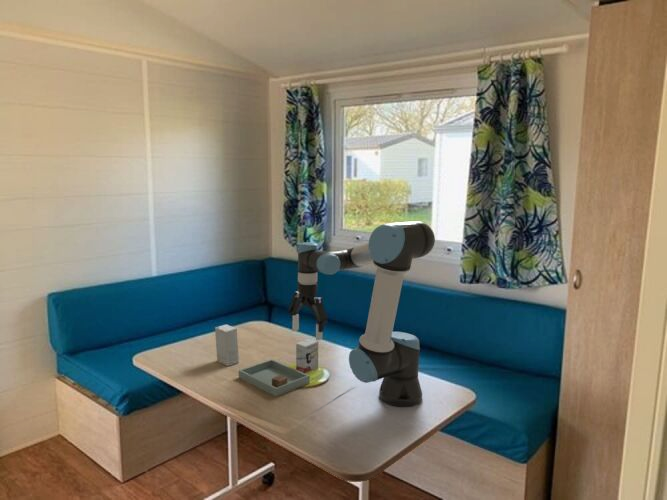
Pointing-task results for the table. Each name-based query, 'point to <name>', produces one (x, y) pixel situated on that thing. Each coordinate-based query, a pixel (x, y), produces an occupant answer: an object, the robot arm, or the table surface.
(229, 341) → the skincare box
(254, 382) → the tray
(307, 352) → the ink box
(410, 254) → the robot arm
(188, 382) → the table surface
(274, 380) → the walnut block
